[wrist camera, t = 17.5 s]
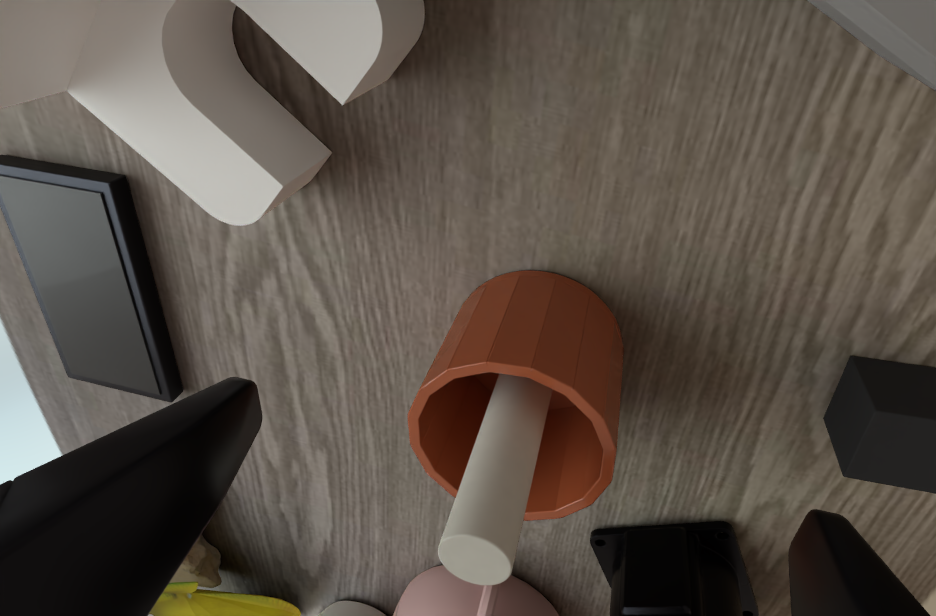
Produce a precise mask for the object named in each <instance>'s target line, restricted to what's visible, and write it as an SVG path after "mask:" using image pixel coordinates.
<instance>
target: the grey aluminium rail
mask: <svg viewBox="0 0 936 616" xmlns="http://www.w3.org/2000/svg"><path fill="white" fill-rule="evenodd" d="M808 1H809V2H810V3H811V4H813V5H814V6H815V7H817V8H818V9H819V10H821V11H822V12H823V13H824V14H826V15H827V16H828V17H830V18H831V19H832V20H834V21H835V22H836V23H837V24H839V25H840V26H841V27H843V28H844V29H845V30H847V31H848V32H849V33H850V34H852V35H853V36H854V37H856V38H857V39H858V40H860V41H861V42H862V43H863V44H865V45H866V46H867V47H869V48H870V49H871V50H873V51H874V52H875V53H876V54H878V55H879V56H881V57H882V58H884V59H886V60H887V61H889V62H890V63H892V64H894V65H895V66H897V67H898V68H900V69H902V70H903V71H905V72H906V73H908V74H910V75H911V76H913V77H914V78H916V79H918V80H919V81H921V82H922V83H924V84H926V85H927V86H929V87H930V88H932V89H934V90H935V91H936V0H808Z"/></svg>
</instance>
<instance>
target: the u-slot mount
mask: <svg viewBox="0 0 936 616" xmlns="http://www.w3.org/2000/svg"><path fill="white" fill-rule="evenodd" d="M236 5H237V6H238V7H239V8H241V9H242V10H243V11H244V12H245V13H246V14H247V15H249V16H250V17H251V18H252V19H253V20H254V21H255V22H256V23H257V24H258V25H259V26H260V27H261V28H262V29H263V30H264V31H265V32H266V33H267V34H268V35H269V36H270V37H272V38H273V39H274V40H275V41H276V42H277V43H278V44H279V45H280V46H281V47H282V48H283V49H284V50H285V51H286V52H287V53H288V54H289V55H290V56H291V57H292V58H293V59H295V60H296V61H297V62H298V63H299V64H300V65H301V66H302V67H303V68H304V69H305V70H306V71H307V72H308V73H309V74H310V75H311V76H312V77H313V78H314V79H315V80H317V81H318V82H319V83H320V84H321V85H322V86H323V87H324V88H325V89H326V90H327V91H328V92H329V93H330V94H331V95H332V96H333V97H334V98H335V99H336V100H337V101H338V102H340V103H341V104H342V105H344V104H346V103H348V102H350V101H351V100H353V99H355V98H357V97H358V96H360V95H362V94H364V93H366V92H367V91H369V90H371V89H373V88H375V87H376V86H378V85H380V84H382V83H383V82H385V81H387V80H388V79H389V78H390V77H391V75H392V74H393V73H394V71H395V70H396V69H397V67H398V66H399V65H400V63H401V62H402V61H403V60H404V58H405V57H406V56H407V54H408V53H409V52H410V50H411V49H412V48H413V46H414V45H415V44H416V42H417V41H418V39H419V37H420V35H421V32H422V29H423V25H424V19H425V8H424V1H423V0H0V108H6V107H10V106H14V105H17V104H21V103H25V102H28V101H32V100H36V99H39V98H43V97H47V96H50V95H54V94H58V93H61V92H65V91H67V92H68V93H69V94H71V95H72V96H73V97H74V98H75V99H76V100H77V101H79V102H80V103H81V104H82V105H83V106H84V107H86V108H87V109H88V110H89V111H90V112H91V113H93V114H94V115H95V116H96V117H97V118H98V119H100V120H101V121H102V122H103V123H104V124H105V125H107V126H108V127H109V128H110V129H111V130H112V131H113V132H115V133H116V134H117V135H118V136H119V137H120V138H122V139H123V140H124V141H125V142H126V143H127V144H129V145H130V146H131V147H132V148H133V149H134V150H136V151H137V152H138V153H139V154H140V155H141V156H143V157H144V158H145V159H146V160H147V161H148V162H149V163H151V164H152V165H153V166H154V167H155V168H156V169H158V170H159V171H160V172H161V173H162V174H163V175H165V176H166V177H167V178H168V179H169V180H170V181H172V182H173V183H174V184H175V185H176V186H177V187H178V188H180V189H181V190H182V191H183V192H184V193H185V194H187V195H188V196H189V197H190V198H191V199H192V200H194V201H195V202H196V203H197V204H198V205H199V206H201V207H202V208H203V209H204V210H205V211H206V212H208V213H209V214H210V215H211V216H213V217H215V218H216V219H218V220H220V221H222V222H224V223H227V224H231V225H237V226H242V225H248V224H251V223H253V222H255V221H257V220H258V219H260V218H261V217H262V216H264V215H265V214H266V213H268V212H269V211H271V210H272V209H273V208H275V207H276V206H277V205H279V204H280V203H282V202H283V201H284V200H286V199H287V198H288V197H290V196H291V195H292V194H294V193H295V192H297V191H298V190H299V189H301V188H302V187H303V186H305V185H306V184H308V183H309V182H310V181H311V180H312V179H313V177H314V176H315V175H316V174H317V172H318V171H319V170H320V168H321V167H322V166H323V164H324V163H325V162H326V160H327V159H328V158H329V157H330V155H331V154H332V152H331V151H330V150H329V149H328V148H327V147H326V146H325V145H324V144H323V143H322V142H321V141H319V140H318V139H317V138H316V137H315V136H314V135H313V134H312V133H311V132H310V131H309V130H308V129H307V128H306V127H304V126H303V125H302V124H301V123H300V122H299V121H298V120H297V119H296V118H295V117H294V116H293V115H292V114H291V113H289V112H288V111H287V110H286V109H285V108H284V107H283V106H282V105H281V104H280V103H279V102H278V101H277V100H275V99H274V98H273V97H272V96H271V95H270V94H269V93H268V92H267V91H266V90H265V89H264V88H263V87H262V86H260V85H259V84H258V83H257V82H256V81H255V80H254V79H253V77H252V76H251V75H250V74H249V73H248V72H247V71H246V69H245V67H244V66H243V64H242V62H241V60H240V59H239V57H238V54H237V51H236V48H235V45H234V41H233V33H232V21H233V13H234V11H235V8H236Z"/></svg>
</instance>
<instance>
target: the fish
mask: <svg viewBox="0 0 936 616" xmlns="http://www.w3.org/2000/svg"><path fill="white" fill-rule="evenodd" d="M197 586H198V582H175V583H169V584H168V585H167V587H166V588H165V590H164V592H163V593H162V595H161V596H160V598H159V599H158V601H157V602H156V604H155V605H154V607H153V608H152V610H151V611H150V613H149V614H152V615H154V616H300V615H301V612H300V610H299V609H298V608H297V607H296V606H294V605H293V604H291V603H289V602H286V601H284V600H281V599H278V598H273V597H268V596H262V595H252V594H238V593H231V592H221V591H212V590H201V589H197Z"/></svg>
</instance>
